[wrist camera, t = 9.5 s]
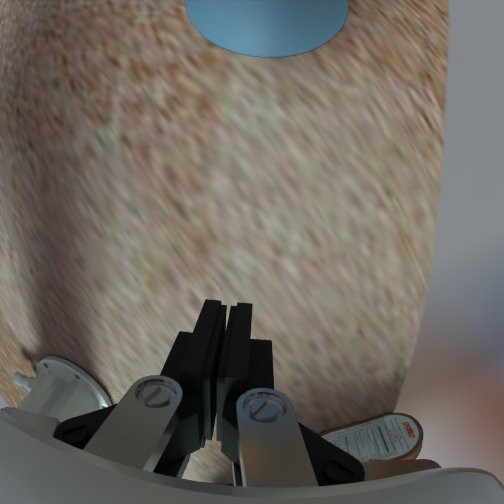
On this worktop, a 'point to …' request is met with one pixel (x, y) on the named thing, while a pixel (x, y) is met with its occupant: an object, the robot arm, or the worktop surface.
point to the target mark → (268, 24)
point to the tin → (379, 438)
